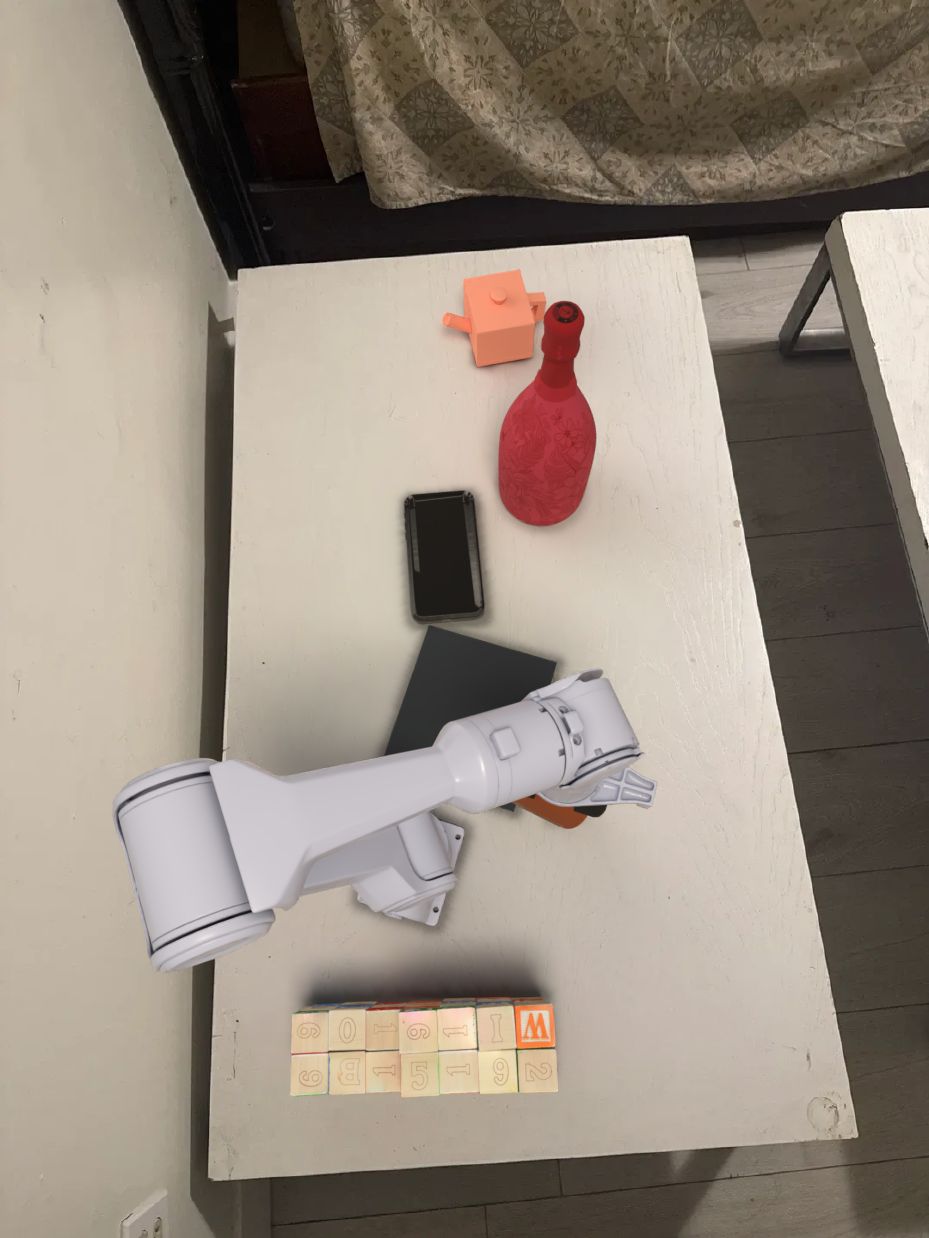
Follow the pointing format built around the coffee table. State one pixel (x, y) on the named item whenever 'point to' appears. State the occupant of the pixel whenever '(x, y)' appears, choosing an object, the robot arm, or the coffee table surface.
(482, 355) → the pink cube teapot
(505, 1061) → the stack of blocks
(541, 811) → the brown jar
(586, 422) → the wine bottle
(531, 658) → the mat
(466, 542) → the phone
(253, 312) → the coffee table surface
